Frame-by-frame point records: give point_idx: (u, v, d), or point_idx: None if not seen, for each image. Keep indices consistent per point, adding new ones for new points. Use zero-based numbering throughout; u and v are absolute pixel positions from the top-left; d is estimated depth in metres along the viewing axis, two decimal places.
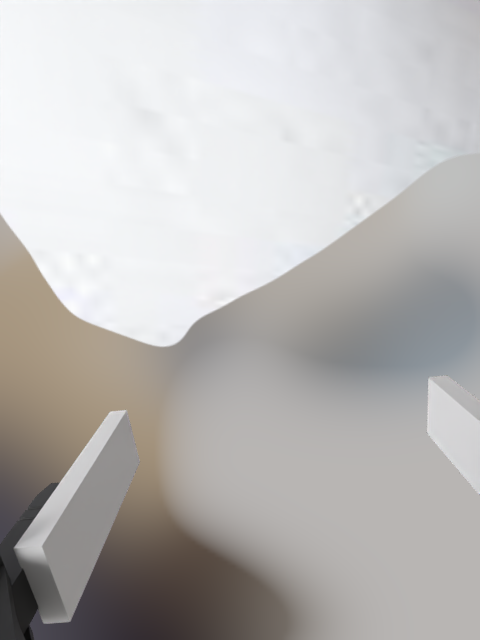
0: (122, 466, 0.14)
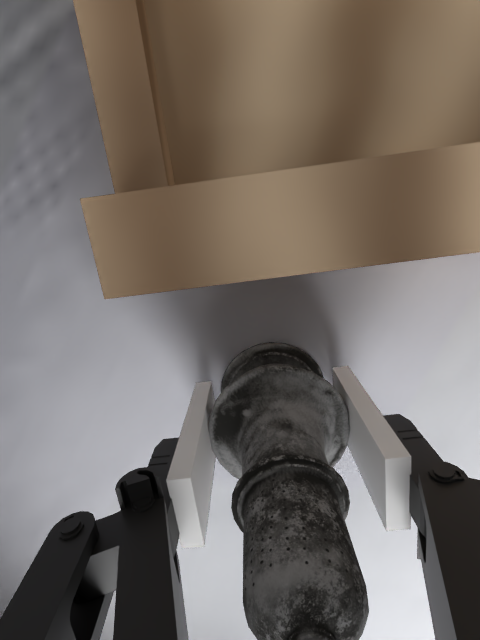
0: None
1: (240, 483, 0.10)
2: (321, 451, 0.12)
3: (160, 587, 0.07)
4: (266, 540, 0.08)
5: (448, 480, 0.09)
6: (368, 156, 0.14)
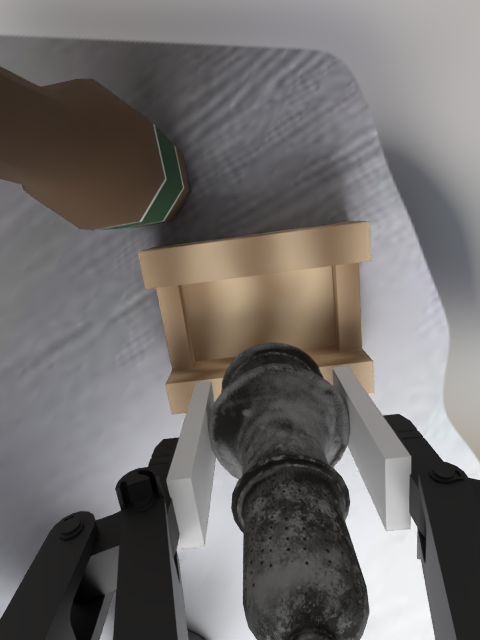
0: None
1: (240, 483, 0.10)
2: (321, 451, 0.12)
3: (160, 587, 0.07)
4: (265, 540, 0.08)
5: (448, 480, 0.09)
6: None
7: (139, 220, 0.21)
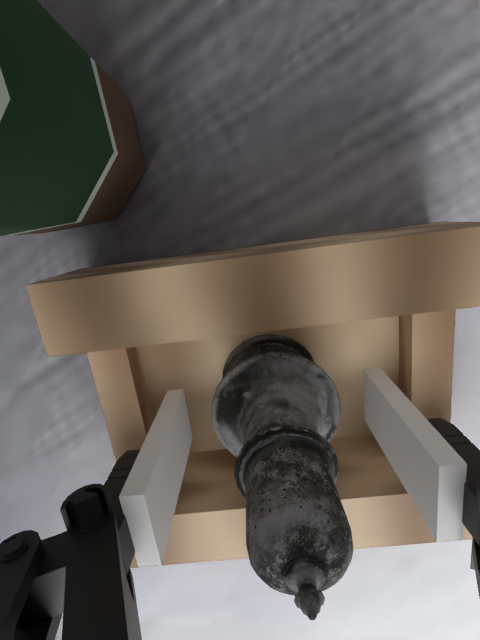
0: (183, 439, 0.15)
1: (242, 451, 0.12)
2: (314, 426, 0.13)
3: (111, 606, 0.07)
4: (265, 492, 0.10)
5: None
6: None
7: None
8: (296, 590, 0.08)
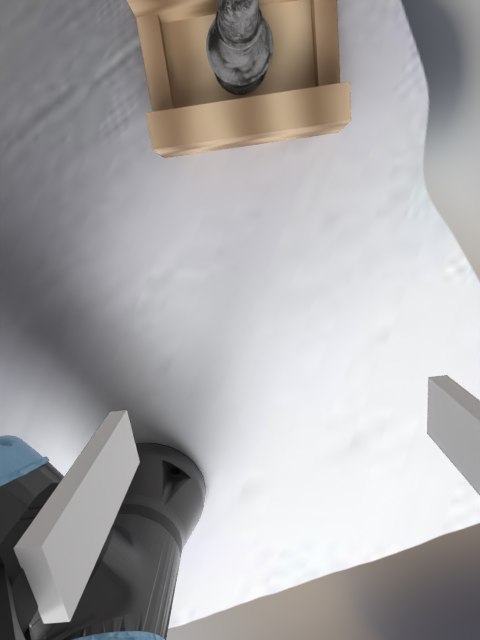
0: (122, 466, 0.14)
1: None
2: None
3: None
4: None
5: None
6: None
7: None
8: None
